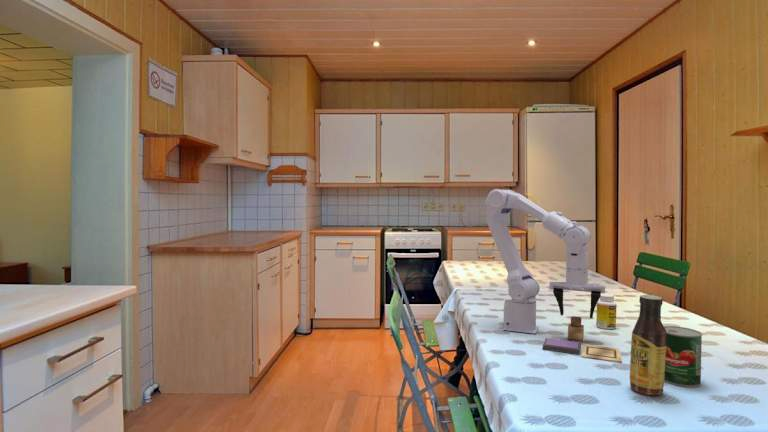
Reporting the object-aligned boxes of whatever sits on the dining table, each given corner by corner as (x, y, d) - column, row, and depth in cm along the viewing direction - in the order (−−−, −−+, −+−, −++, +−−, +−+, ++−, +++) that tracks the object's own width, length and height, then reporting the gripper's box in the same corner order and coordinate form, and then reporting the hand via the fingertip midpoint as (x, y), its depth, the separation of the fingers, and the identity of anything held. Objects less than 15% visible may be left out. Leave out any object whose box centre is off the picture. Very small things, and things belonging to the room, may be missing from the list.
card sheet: (581, 357, 115) (581, 355, 115) (582, 345, 124) (582, 343, 124) (621, 362, 111) (621, 361, 111) (619, 349, 121) (619, 348, 121)
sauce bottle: (623, 385, 97) (624, 293, 96) (650, 384, 98) (652, 292, 97) (642, 398, 91) (645, 299, 90) (672, 397, 91) (674, 299, 90)
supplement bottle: (609, 330, 138) (610, 297, 138) (592, 326, 143) (593, 294, 143) (619, 328, 141) (620, 295, 141) (602, 324, 146) (603, 292, 146)
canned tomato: (694, 376, 103) (695, 327, 102) (706, 389, 95) (707, 337, 95) (654, 371, 105) (655, 324, 105) (663, 384, 98) (664, 333, 97)
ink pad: (542, 349, 120) (542, 344, 120) (545, 342, 127) (545, 337, 127) (579, 354, 117) (579, 349, 117) (580, 346, 123) (580, 341, 123)
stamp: (567, 340, 128) (568, 318, 128) (568, 337, 132) (568, 315, 132) (583, 342, 127) (583, 320, 127) (583, 338, 130) (583, 316, 130)
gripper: (548, 268, 128) (548, 316, 129) (605, 272, 122) (604, 322, 122) (550, 265, 135) (550, 311, 135) (605, 268, 128) (604, 316, 129)
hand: (576, 316), depth 129 cm, fingers open, 7 cm apart
